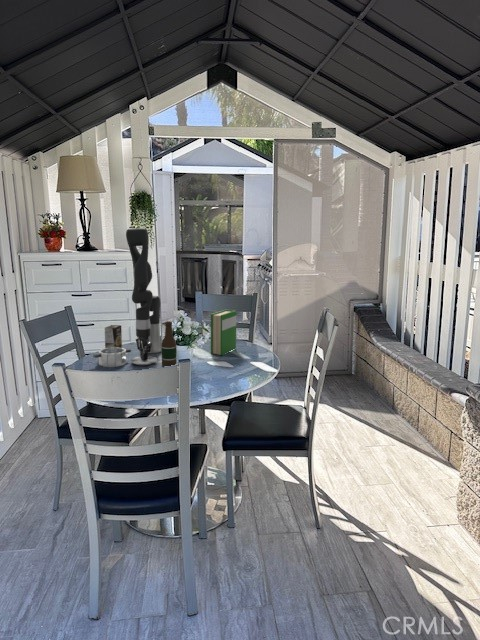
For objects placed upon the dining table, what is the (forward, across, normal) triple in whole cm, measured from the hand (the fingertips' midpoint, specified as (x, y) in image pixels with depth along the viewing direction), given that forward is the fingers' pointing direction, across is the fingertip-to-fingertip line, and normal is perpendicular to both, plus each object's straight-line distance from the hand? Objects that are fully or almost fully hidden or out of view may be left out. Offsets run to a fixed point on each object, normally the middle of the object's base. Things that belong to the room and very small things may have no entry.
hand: (144, 358), depth 247 cm
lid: (+2, 0, 0) cm, 2 cm away
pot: (+3, +10, +13) cm, 17 cm away
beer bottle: (+3, -13, -8) cm, 15 cm away
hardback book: (+3, -7, -49) cm, 49 cm away
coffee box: (+3, +28, +4) cm, 29 cm away
